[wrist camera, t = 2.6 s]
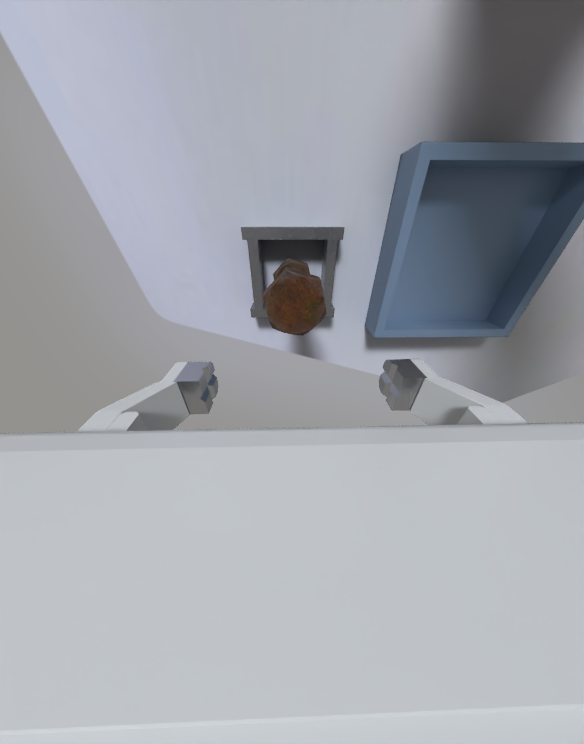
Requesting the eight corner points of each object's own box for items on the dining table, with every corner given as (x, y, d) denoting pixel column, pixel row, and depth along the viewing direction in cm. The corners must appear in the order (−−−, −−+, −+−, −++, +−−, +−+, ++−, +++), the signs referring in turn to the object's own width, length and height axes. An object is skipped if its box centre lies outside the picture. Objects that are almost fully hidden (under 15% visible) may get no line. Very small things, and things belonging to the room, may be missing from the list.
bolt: (317, 259, 29) (338, 285, 17) (306, 295, 32) (318, 340, 20) (276, 247, 28) (267, 265, 16) (268, 285, 31) (256, 326, 19)
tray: (578, 155, 24) (632, 143, 20) (484, 324, 35) (507, 336, 31) (400, 154, 23) (422, 141, 20) (364, 325, 35) (373, 337, 31)
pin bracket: (339, 227, 27) (344, 227, 25) (330, 310, 33) (333, 317, 31) (245, 226, 27) (241, 227, 24) (254, 310, 33) (251, 317, 31)
